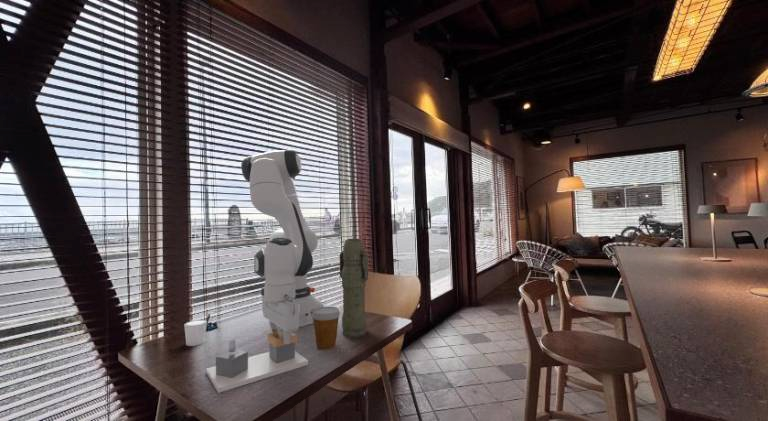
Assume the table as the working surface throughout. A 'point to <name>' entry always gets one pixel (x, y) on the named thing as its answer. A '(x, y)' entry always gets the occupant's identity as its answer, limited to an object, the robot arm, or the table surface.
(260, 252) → the robot arm
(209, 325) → the bird
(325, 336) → the disposable coffee cup
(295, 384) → the table surface
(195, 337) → the white cup
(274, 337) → the ring
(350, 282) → the thermos
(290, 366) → the jig plate
